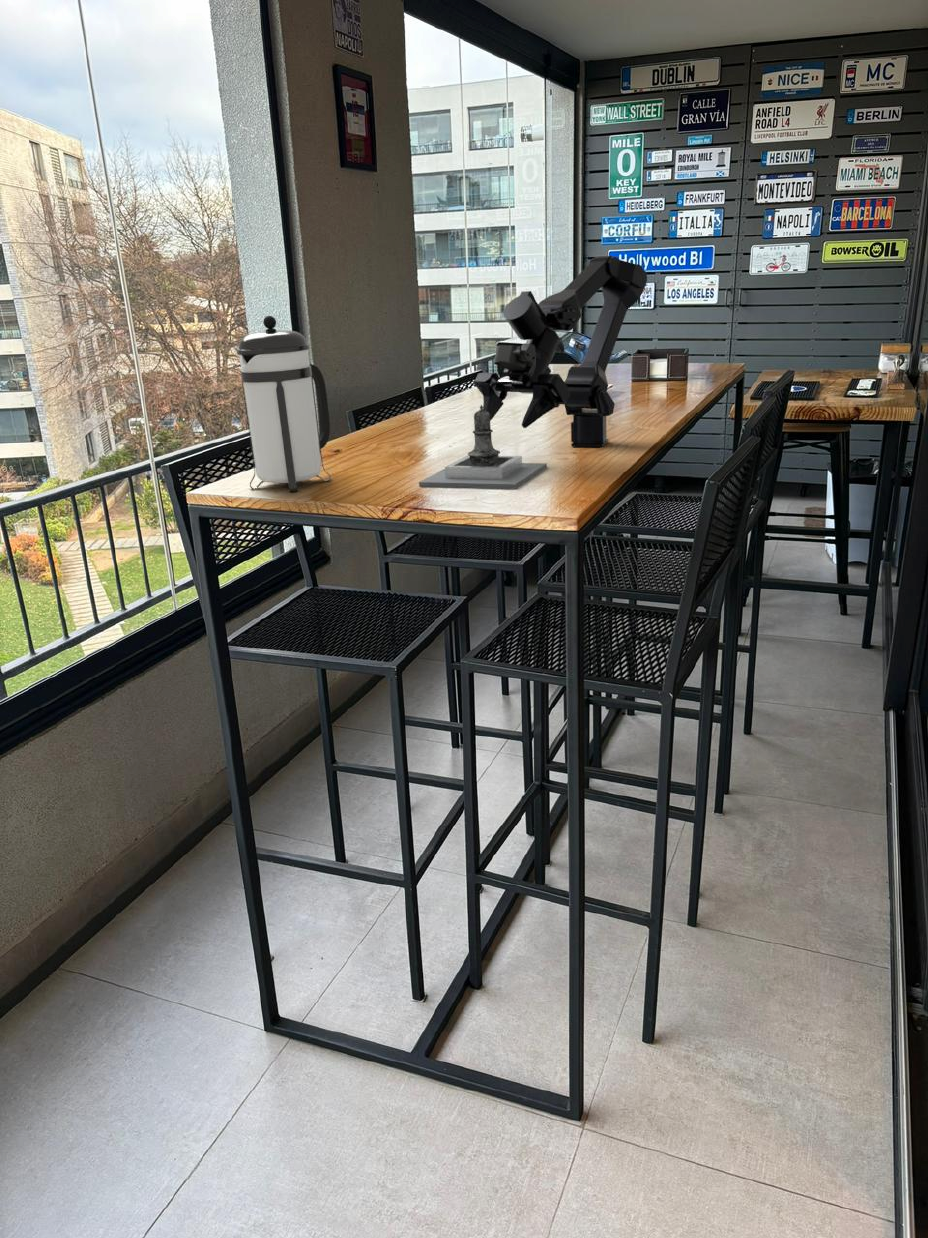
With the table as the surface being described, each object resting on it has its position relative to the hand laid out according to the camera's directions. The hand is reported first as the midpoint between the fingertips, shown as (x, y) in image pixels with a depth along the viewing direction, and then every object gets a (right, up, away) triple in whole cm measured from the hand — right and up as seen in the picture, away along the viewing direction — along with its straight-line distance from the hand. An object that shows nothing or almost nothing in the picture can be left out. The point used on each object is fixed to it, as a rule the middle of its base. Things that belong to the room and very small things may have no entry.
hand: (503, 425), depth 166 cm
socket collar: (-3, -10, -1) cm, 10 cm away
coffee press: (-39, -10, +4) cm, 41 cm away
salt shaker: (-3, -9, -1) cm, 10 cm away
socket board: (-3, -10, -1) cm, 10 cm away
